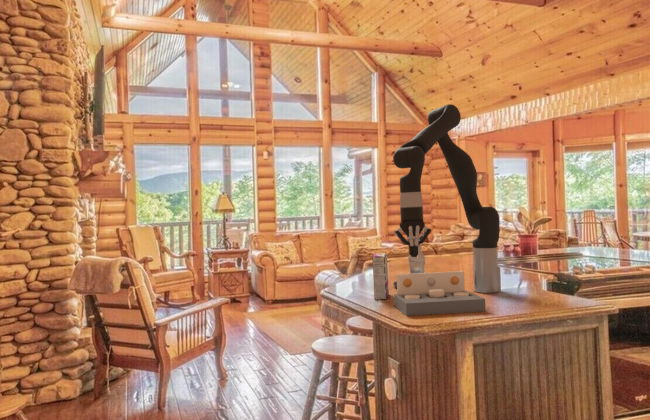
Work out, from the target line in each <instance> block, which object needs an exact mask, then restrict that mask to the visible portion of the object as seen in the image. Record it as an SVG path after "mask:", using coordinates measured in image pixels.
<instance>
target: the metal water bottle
mask: <svg viewBox="0 0 650 420" xmlns="http://www.w3.org/2000/svg"><path fill="white" fill-rule="evenodd" d="M407 261H408V267H409V274H416V273H425V268H426V267H425V265H426V257H425V254H424V253H423V251H422V244H419V245H418V255H417V257H411V255H409V254H408V258H407Z"/></svg>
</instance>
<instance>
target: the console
mask: <svg viewBox="0 0 650 420" xmlns="http://www.w3.org/2000/svg"><path fill="white" fill-rule="evenodd" d="M396 281H397V288H396V293H394V294H393V299H394V300H393V301H394V302H393V303H394V305H395V306H396V307H395V306H394V307H395V308H397V310H399V311H400V312H401V313H402V314H404V315H405V316H406V317H412V316H413V315H415V316H429V315H430V314H432V315H444V314H446V315H447V314H449V315H450V314H461V313H462V314H463V313H478V312H479V313H481V312H487V311H486V310H487V309H486V298H484V297H482V296H479V295H477V294H475V293H473V292H470V291H468V290H465V289H466V287H465V271H464V270H461V271H460V270H457V271H439V272H435V271H434V272H424V273H416V274H410V273H399V274H396ZM430 289H443V290H444V297H442V298H430V297H429V290H430ZM455 292H467V293H469V296H460V297H455V296H454V295H453V293H455ZM405 295H419V296H420V299H405ZM413 317H414V316H413Z"/></svg>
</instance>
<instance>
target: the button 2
mask: <svg viewBox="0 0 650 420" xmlns="http://www.w3.org/2000/svg"><path fill="white" fill-rule="evenodd" d="M453 295H454V296H455V297H460V296H469V293H467V292H455V293H453Z"/></svg>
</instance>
